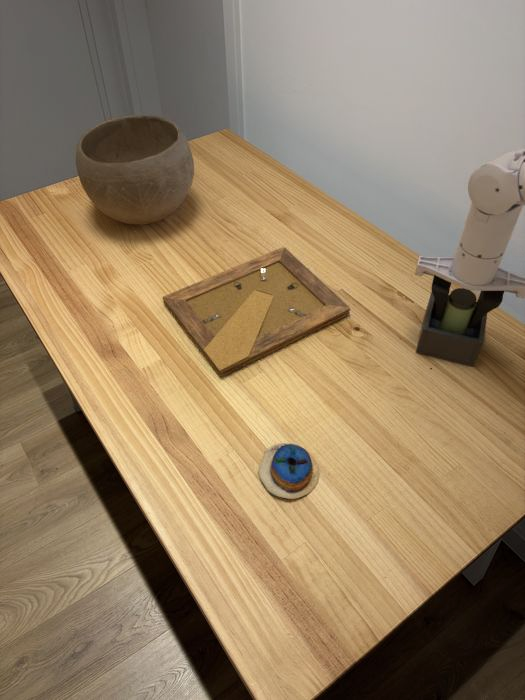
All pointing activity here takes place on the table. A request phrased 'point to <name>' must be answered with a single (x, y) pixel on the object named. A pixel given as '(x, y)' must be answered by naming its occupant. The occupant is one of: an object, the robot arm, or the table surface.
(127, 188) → the bowl
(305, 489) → the dessert
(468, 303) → the green lidded canister
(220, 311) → the picture frame
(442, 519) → the table surface
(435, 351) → the bin
